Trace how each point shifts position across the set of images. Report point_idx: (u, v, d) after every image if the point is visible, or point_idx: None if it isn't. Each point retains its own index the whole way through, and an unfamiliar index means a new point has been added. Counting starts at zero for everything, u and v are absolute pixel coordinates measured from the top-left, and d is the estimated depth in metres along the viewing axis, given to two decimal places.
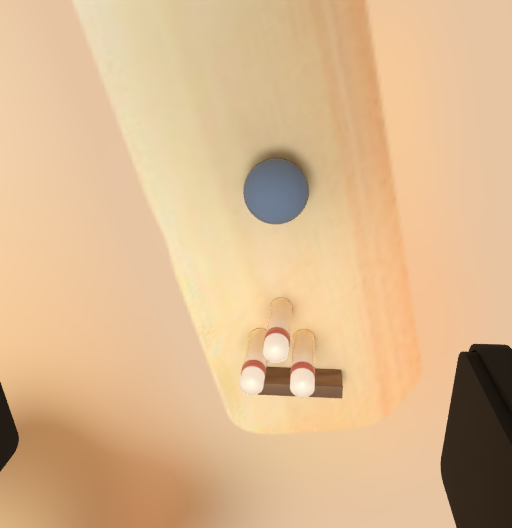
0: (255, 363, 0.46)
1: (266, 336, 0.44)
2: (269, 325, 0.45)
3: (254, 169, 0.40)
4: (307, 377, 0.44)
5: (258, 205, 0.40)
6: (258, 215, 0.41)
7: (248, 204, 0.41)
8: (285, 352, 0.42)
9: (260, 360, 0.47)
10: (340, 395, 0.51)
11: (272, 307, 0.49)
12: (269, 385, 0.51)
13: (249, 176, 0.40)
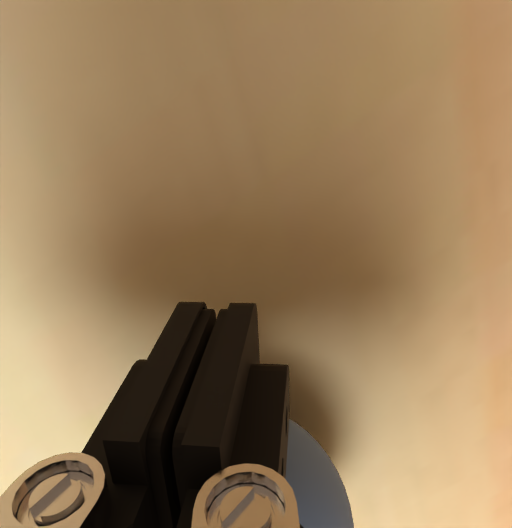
0: None
1: None
2: None
3: None
4: None
5: None
6: None
7: None
8: None
9: None
10: None
11: None
12: None
13: None
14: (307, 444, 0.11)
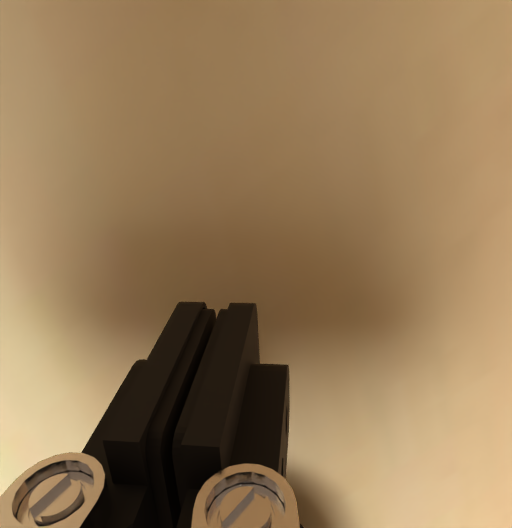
0: None
1: None
2: None
3: None
4: None
5: None
6: None
7: None
8: None
9: None
10: None
11: None
12: None
13: None
14: None
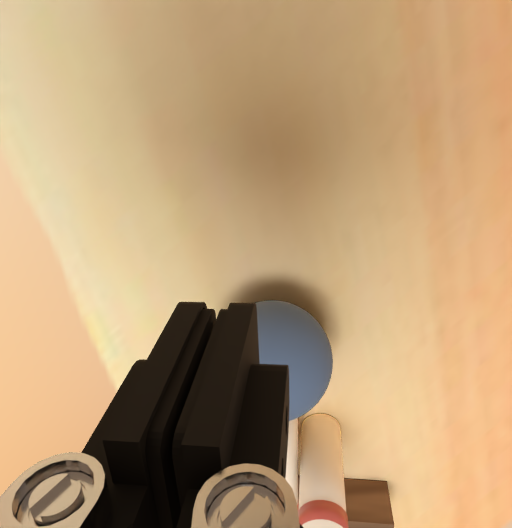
0: None
1: None
2: None
3: None
4: None
5: None
6: None
7: None
8: None
9: None
10: None
11: None
12: None
13: None
14: (308, 410, 0.22)
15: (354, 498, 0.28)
